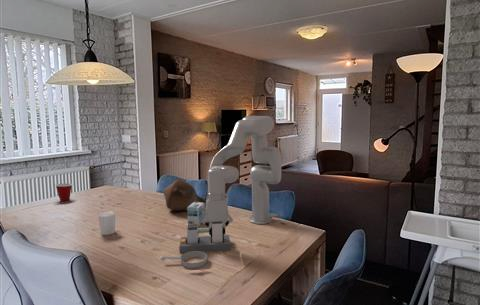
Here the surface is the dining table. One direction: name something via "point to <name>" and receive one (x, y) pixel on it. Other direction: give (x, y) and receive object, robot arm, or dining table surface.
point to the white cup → (107, 223)
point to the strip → (205, 245)
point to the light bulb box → (196, 213)
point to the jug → (181, 196)
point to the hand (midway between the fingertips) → (217, 235)
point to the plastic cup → (64, 191)
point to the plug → (217, 232)
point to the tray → (203, 230)
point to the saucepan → (189, 255)
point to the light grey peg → (192, 234)
